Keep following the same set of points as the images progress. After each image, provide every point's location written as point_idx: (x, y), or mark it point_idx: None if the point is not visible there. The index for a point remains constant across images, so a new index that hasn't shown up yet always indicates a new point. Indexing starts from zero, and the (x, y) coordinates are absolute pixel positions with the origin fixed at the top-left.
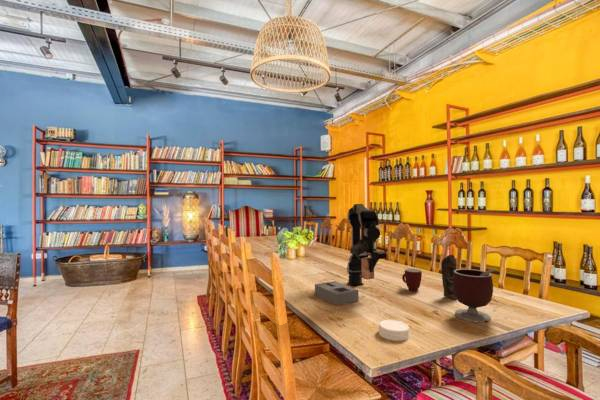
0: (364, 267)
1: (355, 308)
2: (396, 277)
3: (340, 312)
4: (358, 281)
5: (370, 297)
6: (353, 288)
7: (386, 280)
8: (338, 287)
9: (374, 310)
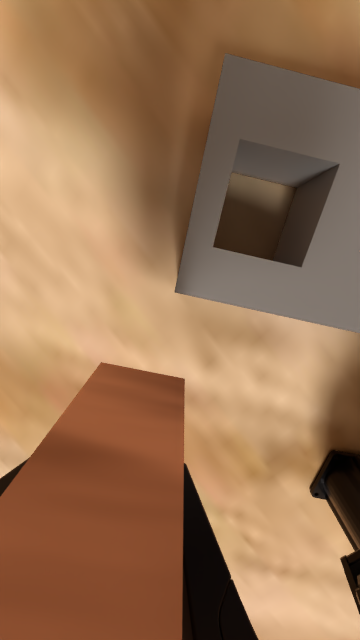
0: (104, 471)
1: (111, 170)
2: (257, 621)
3: (117, 22)
4: (335, 489)
5: (174, 371)
6: (223, 299)
7: (265, 579)
8: (325, 236)
9: (32, 227)
